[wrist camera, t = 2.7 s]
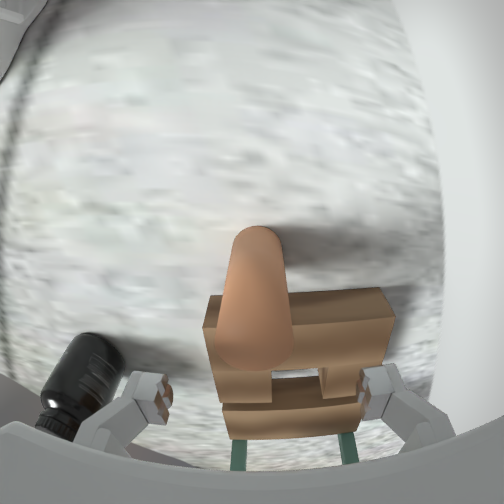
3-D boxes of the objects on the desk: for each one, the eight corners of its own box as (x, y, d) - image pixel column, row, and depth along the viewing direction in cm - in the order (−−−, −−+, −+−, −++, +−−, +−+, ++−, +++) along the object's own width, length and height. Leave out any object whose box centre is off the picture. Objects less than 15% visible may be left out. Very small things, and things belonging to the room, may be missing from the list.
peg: (230, 227, 21) (208, 316, 12) (281, 224, 21) (295, 313, 12) (234, 271, 23) (219, 371, 14) (282, 269, 23) (292, 369, 14)
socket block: (210, 295, 24) (202, 327, 20) (379, 287, 23) (395, 316, 20) (232, 411, 31) (229, 439, 28) (350, 404, 31) (356, 431, 27)
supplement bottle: (64, 327, 27) (12, 409, 16) (116, 334, 27) (68, 432, 16) (85, 370, 30) (48, 447, 19) (134, 378, 30) (102, 467, 19)
